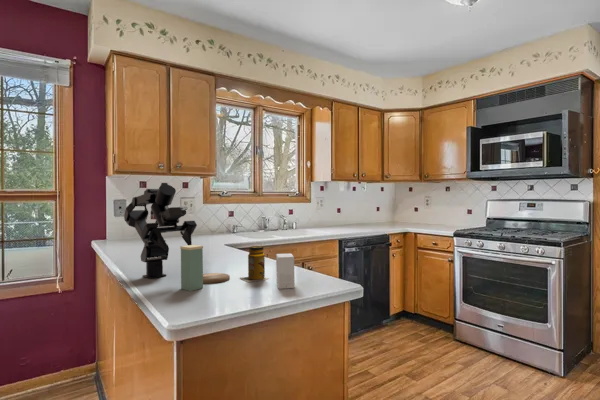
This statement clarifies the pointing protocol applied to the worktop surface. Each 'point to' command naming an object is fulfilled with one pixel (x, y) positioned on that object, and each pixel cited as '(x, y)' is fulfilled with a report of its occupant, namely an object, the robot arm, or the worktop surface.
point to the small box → (285, 271)
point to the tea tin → (191, 267)
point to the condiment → (255, 264)
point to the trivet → (215, 278)
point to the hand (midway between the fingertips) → (178, 247)
